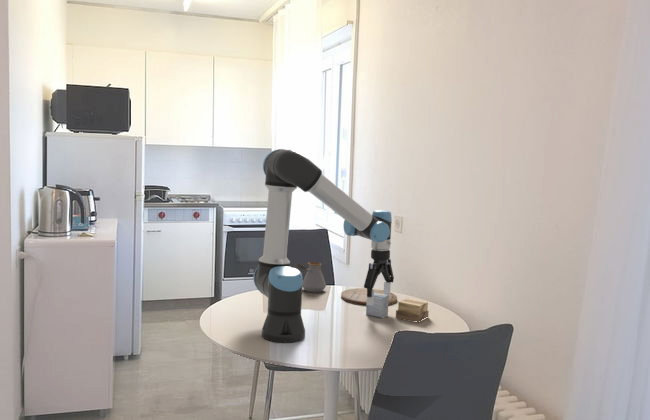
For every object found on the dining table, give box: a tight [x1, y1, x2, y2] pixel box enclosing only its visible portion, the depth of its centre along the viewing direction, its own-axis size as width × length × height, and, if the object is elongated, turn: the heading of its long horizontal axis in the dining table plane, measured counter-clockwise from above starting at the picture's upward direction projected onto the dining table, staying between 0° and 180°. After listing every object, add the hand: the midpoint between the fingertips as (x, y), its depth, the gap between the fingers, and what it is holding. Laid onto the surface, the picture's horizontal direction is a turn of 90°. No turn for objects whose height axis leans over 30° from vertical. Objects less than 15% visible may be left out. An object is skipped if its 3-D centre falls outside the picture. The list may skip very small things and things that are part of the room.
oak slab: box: [397, 297, 429, 315], centre depth 227 cm, size 8×9×4 cm
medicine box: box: [365, 293, 389, 319], centre depth 228 cm, size 8×4×9 cm, turn 58°
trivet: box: [340, 287, 398, 307], centre depth 255 cm, size 25×25×2 cm
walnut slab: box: [395, 309, 429, 322], centre depth 228 cm, size 9×10×4 cm
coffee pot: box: [295, 261, 327, 294], centre depth 260 cm, size 21×12×15 cm, turn 148°
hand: (378, 301), depth 228 cm, fingers open, 13 cm apart
